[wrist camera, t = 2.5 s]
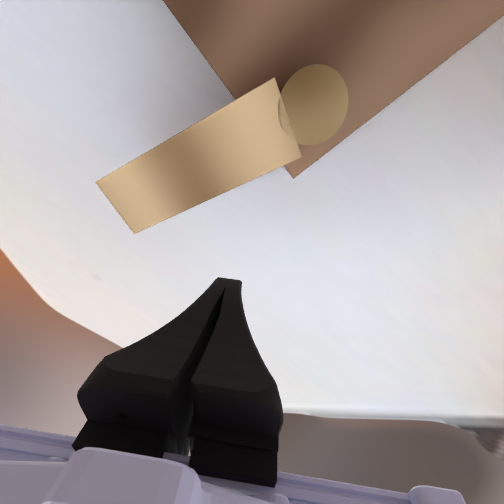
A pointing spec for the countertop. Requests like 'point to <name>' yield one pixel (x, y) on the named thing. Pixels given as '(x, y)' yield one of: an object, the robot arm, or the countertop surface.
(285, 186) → the countertop surface
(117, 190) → the oak leg
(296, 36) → the stool seat
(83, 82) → the countertop surface
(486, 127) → the countertop surface
